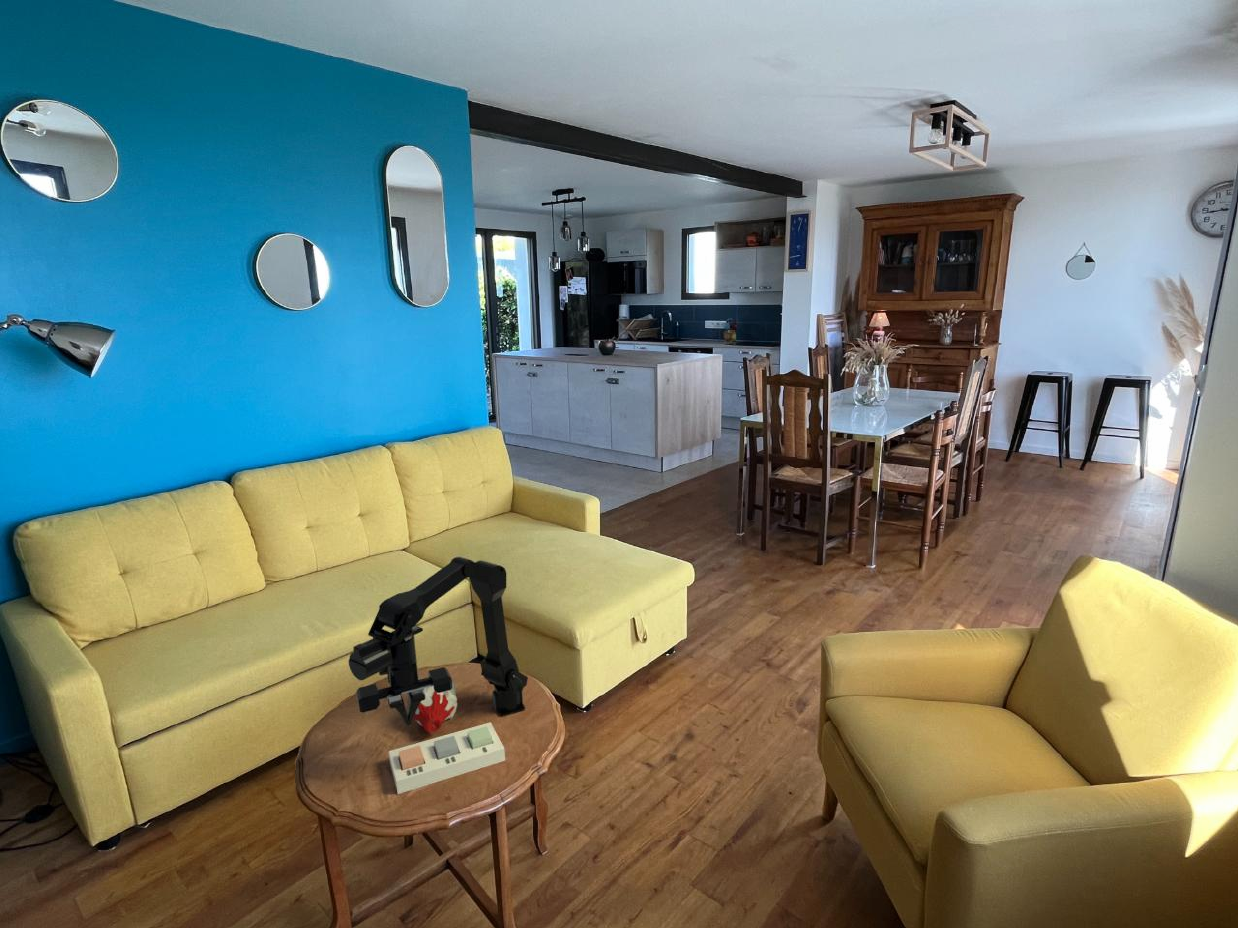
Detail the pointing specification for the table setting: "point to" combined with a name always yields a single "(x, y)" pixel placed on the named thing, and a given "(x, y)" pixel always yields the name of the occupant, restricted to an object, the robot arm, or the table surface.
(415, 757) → the terracotta tile
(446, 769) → the button board
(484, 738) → the sage tile
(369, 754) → the table surface
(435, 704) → the red irregular piece
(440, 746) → the slate tile
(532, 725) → the table surface
